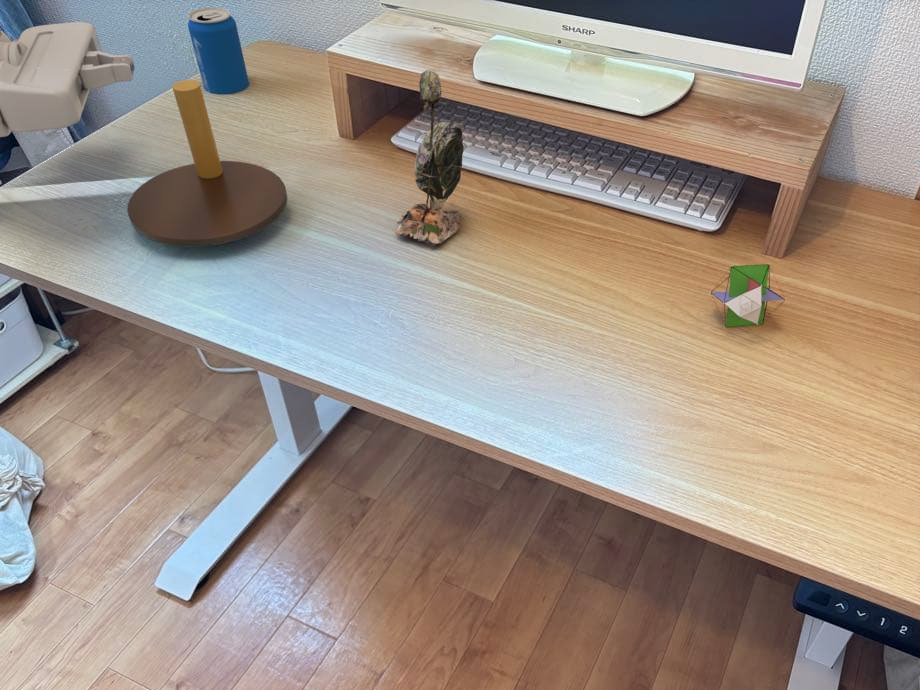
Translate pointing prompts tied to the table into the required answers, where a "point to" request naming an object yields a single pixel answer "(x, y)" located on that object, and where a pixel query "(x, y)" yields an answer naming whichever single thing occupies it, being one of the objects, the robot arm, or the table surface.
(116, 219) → the table surface
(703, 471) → the table surface
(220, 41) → the beverage can
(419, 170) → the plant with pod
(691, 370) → the table surface
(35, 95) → the robot arm
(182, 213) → the tray
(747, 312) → the geometric puzzle
